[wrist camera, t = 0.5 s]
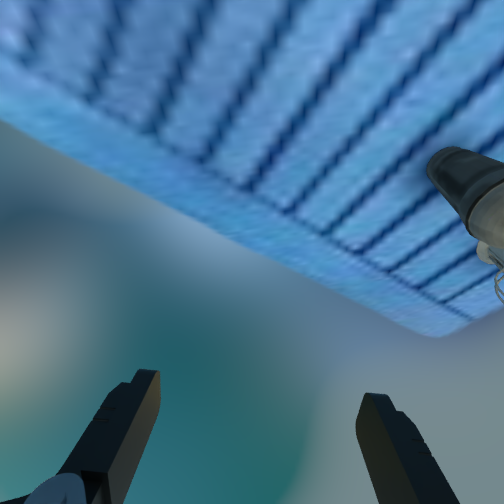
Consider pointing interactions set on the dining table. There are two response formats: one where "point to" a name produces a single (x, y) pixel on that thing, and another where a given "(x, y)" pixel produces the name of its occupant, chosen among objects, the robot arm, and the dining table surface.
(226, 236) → the dining table surface
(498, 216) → the beverage cup
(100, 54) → the dining table surface
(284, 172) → the dining table surface
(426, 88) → the dining table surface
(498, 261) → the french press
